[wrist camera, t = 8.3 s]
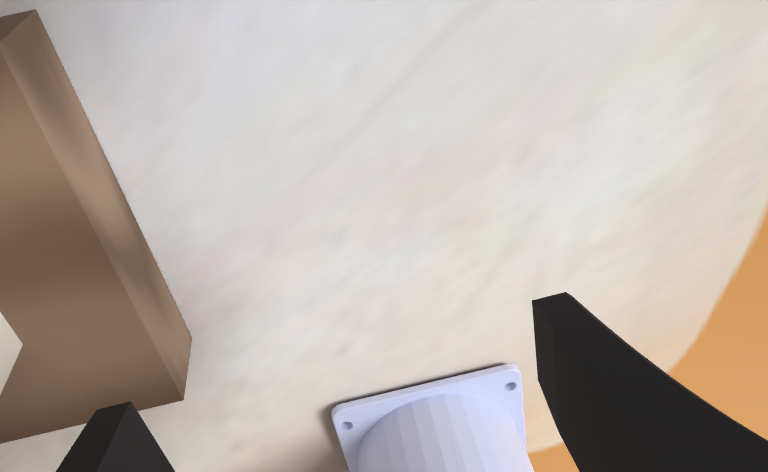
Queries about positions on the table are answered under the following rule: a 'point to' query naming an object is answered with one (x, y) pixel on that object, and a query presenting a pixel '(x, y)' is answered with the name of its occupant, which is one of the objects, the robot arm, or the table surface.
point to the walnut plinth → (72, 258)
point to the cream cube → (7, 350)
